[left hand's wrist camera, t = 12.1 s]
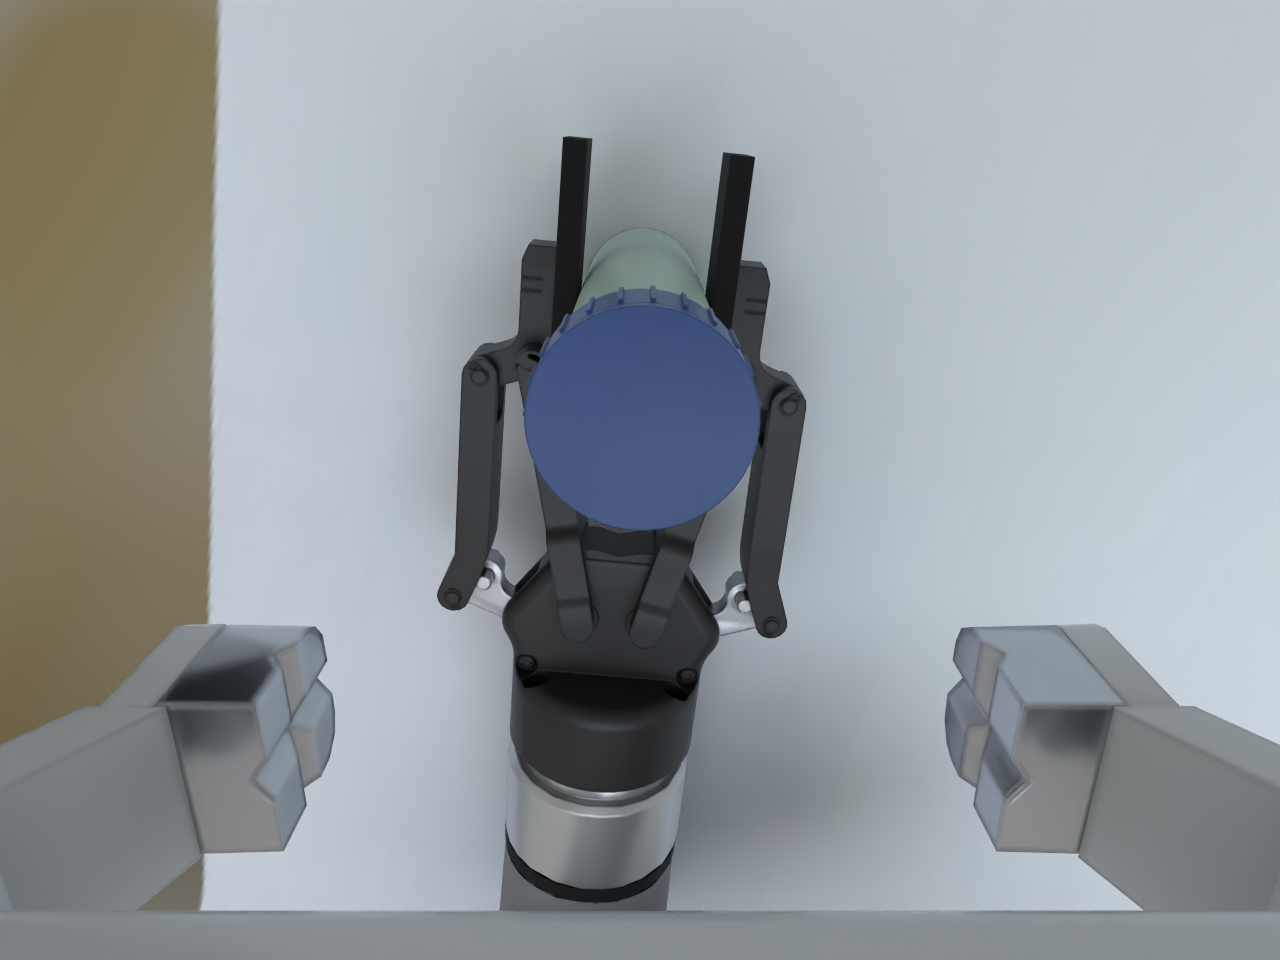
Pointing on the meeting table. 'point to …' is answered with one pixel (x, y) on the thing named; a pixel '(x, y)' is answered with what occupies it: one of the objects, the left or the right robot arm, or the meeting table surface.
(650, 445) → the lid
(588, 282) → the jar
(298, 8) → the meeting table surface
